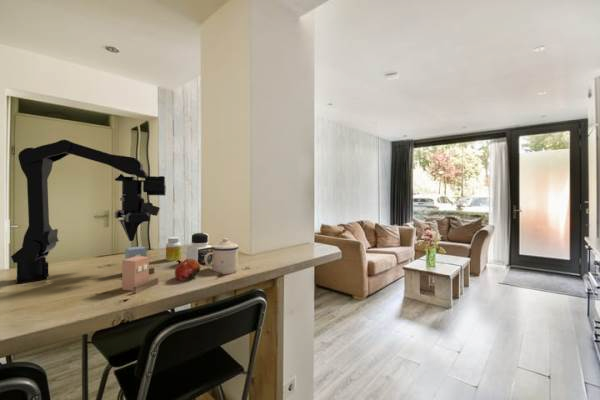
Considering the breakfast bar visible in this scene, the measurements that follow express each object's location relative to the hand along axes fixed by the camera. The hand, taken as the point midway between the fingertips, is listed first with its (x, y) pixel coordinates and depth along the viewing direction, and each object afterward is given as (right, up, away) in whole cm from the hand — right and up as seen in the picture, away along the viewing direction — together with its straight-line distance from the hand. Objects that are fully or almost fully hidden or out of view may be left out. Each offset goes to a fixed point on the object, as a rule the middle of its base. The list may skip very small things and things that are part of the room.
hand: (131, 240), depth 94 cm
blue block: (+4, -10, -4) cm, 11 cm away
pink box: (+12, -10, -17) cm, 23 cm away
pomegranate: (+23, -12, -8) cm, 27 cm away
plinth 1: (+10, -11, -17) cm, 23 cm away
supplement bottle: (+7, -11, +15) cm, 20 cm away
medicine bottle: (+19, -11, +12) cm, 25 cm away
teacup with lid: (+30, -12, +3) cm, 32 cm away
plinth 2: (+3, -11, -3) cm, 12 cm away
